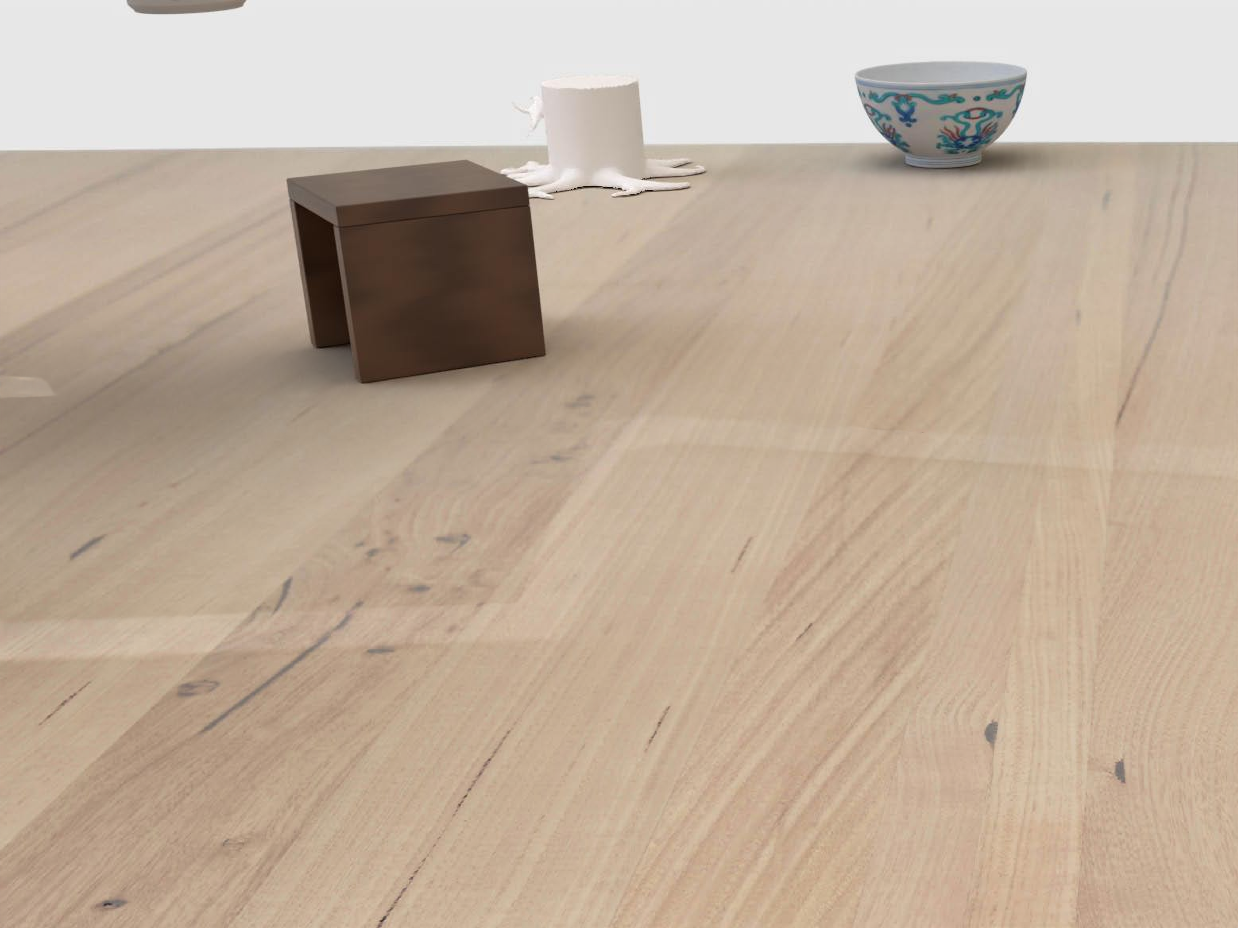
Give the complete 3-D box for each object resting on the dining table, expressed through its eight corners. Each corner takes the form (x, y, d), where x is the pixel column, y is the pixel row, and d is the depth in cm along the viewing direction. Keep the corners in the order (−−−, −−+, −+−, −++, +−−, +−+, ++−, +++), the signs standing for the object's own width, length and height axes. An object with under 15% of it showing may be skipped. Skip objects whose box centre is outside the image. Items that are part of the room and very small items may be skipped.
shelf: (361, 383, 118) (335, 206, 114) (311, 344, 127) (285, 178, 123) (546, 355, 124) (528, 184, 120) (486, 319, 132) (467, 159, 128)
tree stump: (544, 157, 190) (535, 65, 187) (743, 162, 185) (736, 68, 182) (435, 197, 172) (422, 96, 169) (651, 204, 168) (642, 101, 164)
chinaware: (1021, 146, 192) (1020, 59, 189) (1034, 174, 178) (1033, 80, 175) (858, 150, 191) (854, 63, 188) (859, 179, 177) (855, 85, 174)
